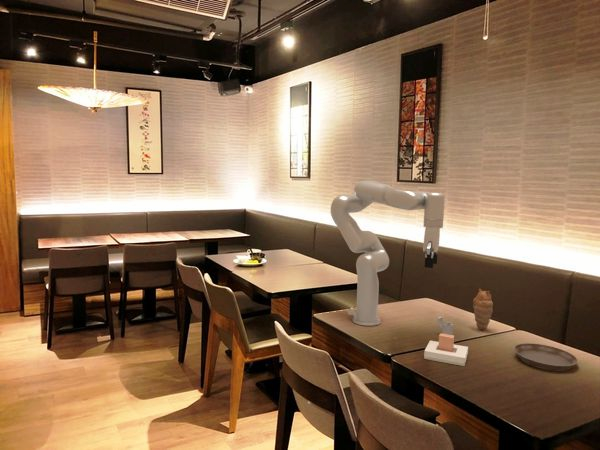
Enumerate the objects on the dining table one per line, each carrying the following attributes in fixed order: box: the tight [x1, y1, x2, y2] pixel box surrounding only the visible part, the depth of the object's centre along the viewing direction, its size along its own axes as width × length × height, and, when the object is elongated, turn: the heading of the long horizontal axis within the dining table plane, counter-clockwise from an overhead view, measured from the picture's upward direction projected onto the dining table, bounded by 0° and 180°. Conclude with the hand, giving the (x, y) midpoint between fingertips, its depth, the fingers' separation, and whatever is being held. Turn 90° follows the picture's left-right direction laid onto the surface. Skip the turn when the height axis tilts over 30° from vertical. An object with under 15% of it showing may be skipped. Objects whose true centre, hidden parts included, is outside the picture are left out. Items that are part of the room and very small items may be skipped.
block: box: [438, 333, 455, 352], centre depth 173 cm, size 5×3×7 cm, turn 65°
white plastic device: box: [436, 315, 454, 335], centre depth 197 cm, size 7×2×8 cm, turn 104°
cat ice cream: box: [472, 288, 494, 331], centre depth 203 cm, size 9×8×18 cm
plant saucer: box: [513, 342, 579, 372], centre depth 171 cm, size 21×21×3 cm
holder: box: [423, 340, 469, 367], centre depth 173 cm, size 14×12×3 cm
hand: (430, 265), depth 189 cm, fingers open, 9 cm apart
